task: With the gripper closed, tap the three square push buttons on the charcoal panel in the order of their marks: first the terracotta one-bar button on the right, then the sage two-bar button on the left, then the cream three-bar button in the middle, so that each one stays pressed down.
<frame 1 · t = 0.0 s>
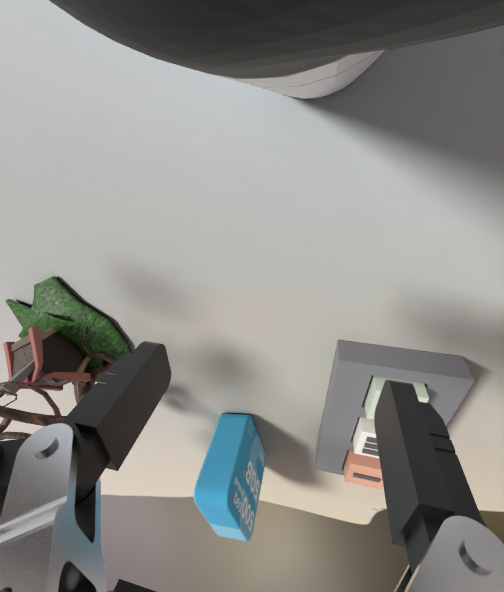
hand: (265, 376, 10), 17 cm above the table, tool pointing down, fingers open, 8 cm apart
bonsai tree: (74, 309, 38), on the table
button two: (393, 397, 29), point 3 cm above the table, slide at 0.0 cm
button three: (377, 435, 33), point 3 cm above the table, slide at 0.0 cm
data package: (245, 431, 45), on the table
button one: (365, 465, 37), point 3 cm above the table, slide at 0.0 cm
button panel: (374, 411, 35), on the table
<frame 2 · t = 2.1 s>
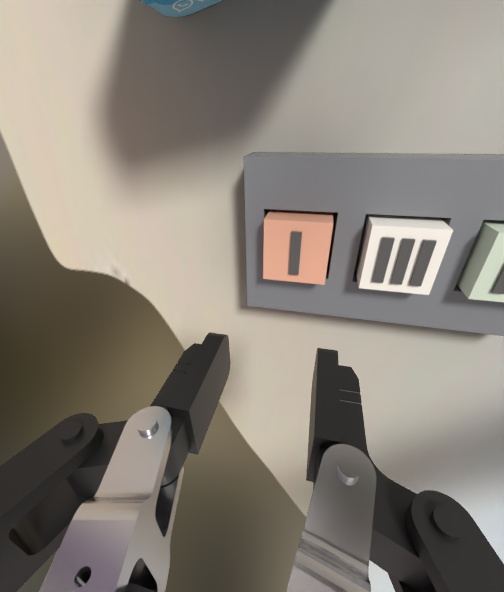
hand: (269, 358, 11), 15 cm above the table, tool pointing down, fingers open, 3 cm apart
button three: (397, 253, 20), point 3 cm above the table, slide at 0.0 cm
button one: (297, 246, 21), point 3 cm above the table, slide at 0.0 cm
button panel: (389, 238, 22), on the table
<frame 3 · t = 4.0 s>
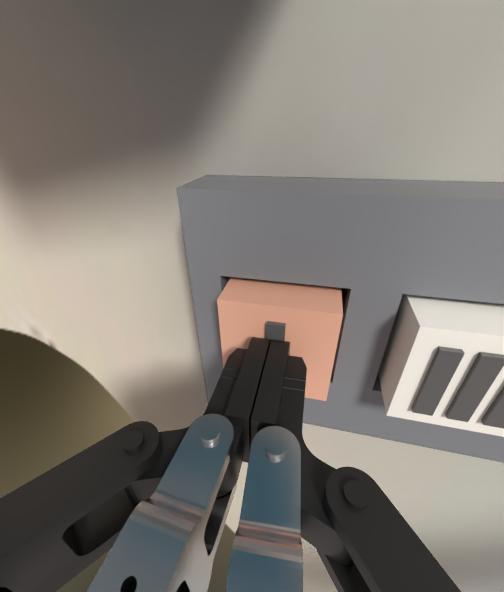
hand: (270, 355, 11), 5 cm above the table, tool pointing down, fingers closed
button three: (457, 359, 11), point 3 cm above the table, slide at 0.0 cm
button one: (280, 332, 13), point 3 cm above the table, slide at 0.2 cm, touching gripper
button panel: (433, 314, 14), on the table
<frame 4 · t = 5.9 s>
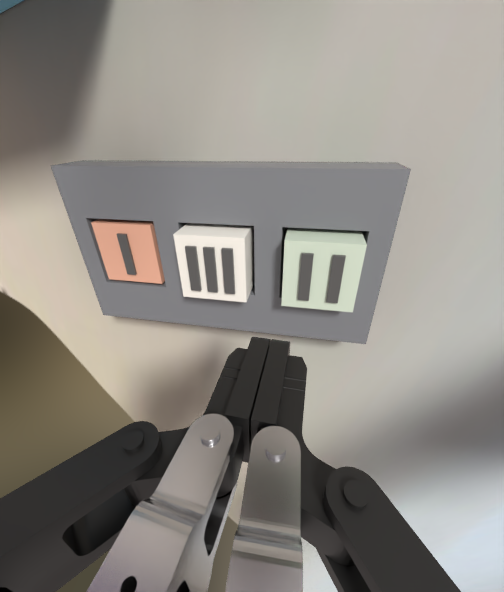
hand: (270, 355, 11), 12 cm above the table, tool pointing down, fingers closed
button two: (320, 268, 18), point 3 cm above the table, slide at 0.0 cm
button three: (217, 261, 20), point 3 cm above the table, slide at 0.0 cm
button one: (137, 247, 22), point 2 cm above the table, slide at 1.5 cm
button panel: (229, 245, 22), on the table
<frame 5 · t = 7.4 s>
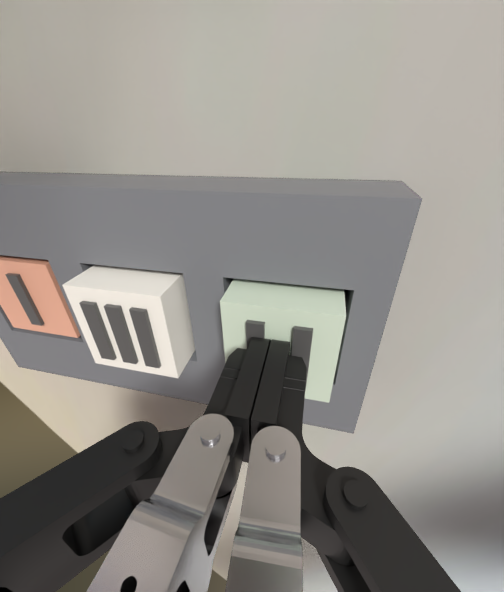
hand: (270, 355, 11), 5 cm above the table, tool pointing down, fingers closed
button two: (282, 333, 13), point 3 cm above the table, slide at 0.2 cm, touching gripper
button three: (140, 316, 14), point 3 cm above the table, slide at 0.0 cm
button one: (48, 287, 17), point 2 cm above the table, slide at 1.5 cm
button panel: (170, 285, 16), on the table
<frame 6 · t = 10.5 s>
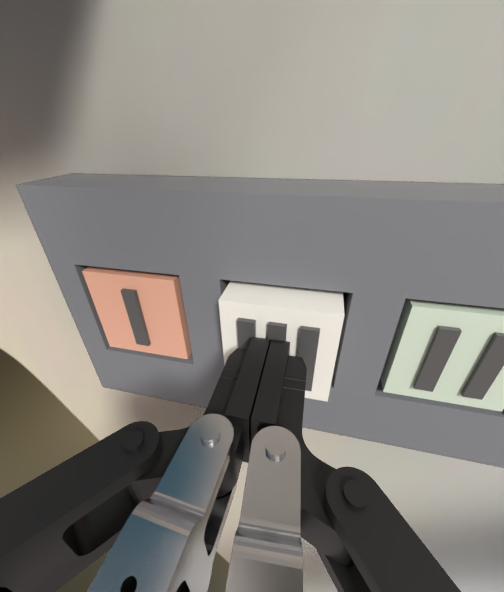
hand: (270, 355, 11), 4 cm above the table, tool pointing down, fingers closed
button two: (447, 339, 12), point 2 cm above the table, slide at 1.5 cm
button three: (281, 332, 13), point 3 cm above the table, slide at 0.4 cm, touching gripper
button one: (152, 302, 15), point 2 cm above the table, slide at 1.5 cm
button panel: (288, 301, 15), on the table
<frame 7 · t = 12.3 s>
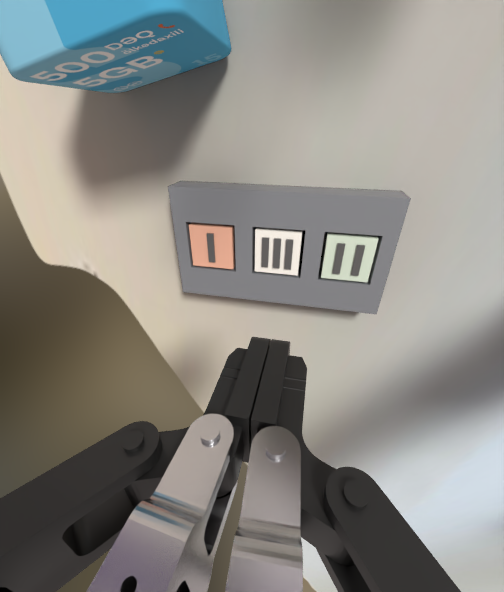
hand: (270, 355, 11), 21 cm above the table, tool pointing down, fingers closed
button two: (346, 253, 29), point 2 cm above the table, slide at 1.5 cm
button three: (278, 248, 30), point 2 cm above the table, slide at 1.5 cm
data package: (165, 44, 24), on the table
button one: (215, 242, 31), point 2 cm above the table, slide at 1.5 cm
button panel: (280, 242, 31), on the table
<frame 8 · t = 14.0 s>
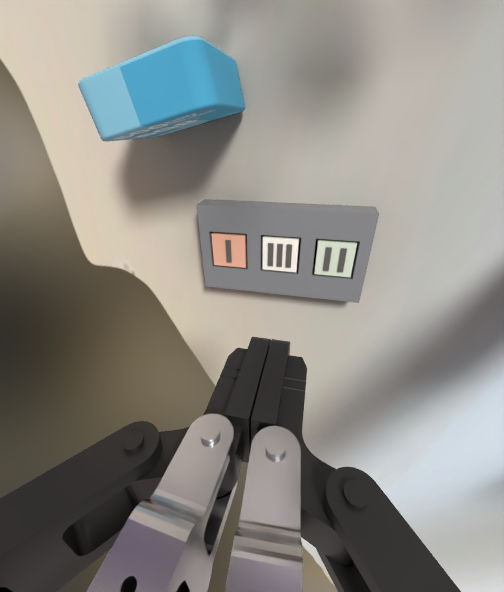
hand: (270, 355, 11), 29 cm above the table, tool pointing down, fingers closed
button two: (334, 255, 37), point 2 cm above the table, slide at 1.5 cm
button three: (281, 251, 38), point 2 cm above the table, slide at 1.5 cm
data package: (196, 102, 33), on the table
button one: (231, 247, 40), point 2 cm above the table, slide at 1.5 cm
button panel: (282, 246, 40), on the table
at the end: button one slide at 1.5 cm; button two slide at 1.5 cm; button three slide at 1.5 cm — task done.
